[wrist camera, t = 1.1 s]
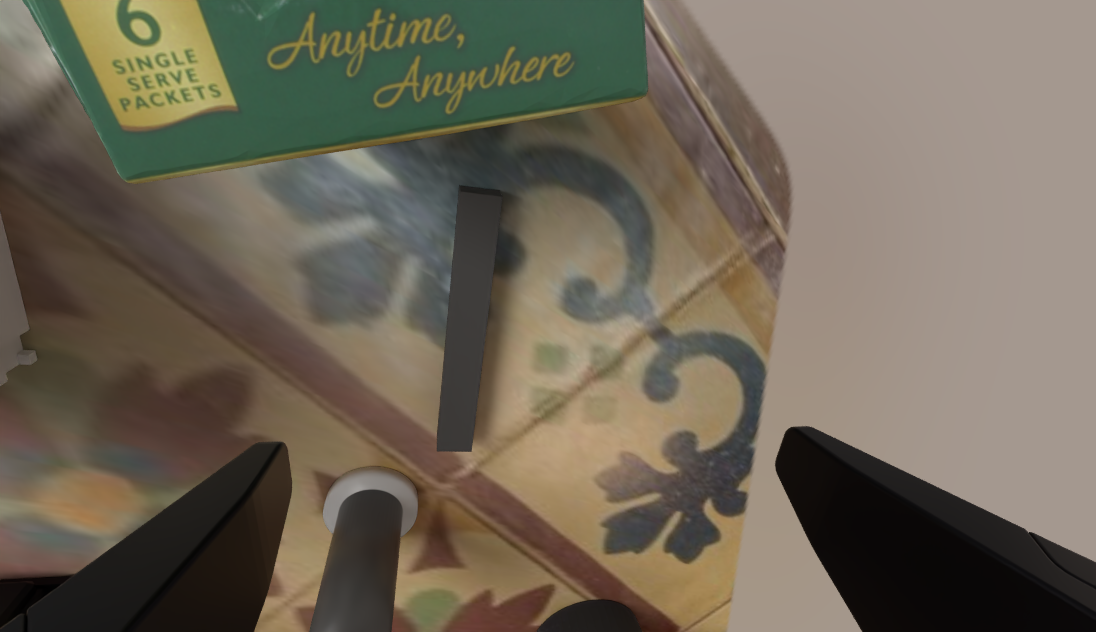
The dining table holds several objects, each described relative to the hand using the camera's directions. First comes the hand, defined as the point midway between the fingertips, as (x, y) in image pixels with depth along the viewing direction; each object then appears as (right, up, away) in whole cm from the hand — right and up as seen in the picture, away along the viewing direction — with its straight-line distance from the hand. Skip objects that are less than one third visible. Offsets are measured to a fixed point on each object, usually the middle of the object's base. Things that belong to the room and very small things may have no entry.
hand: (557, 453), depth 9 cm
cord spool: (-9, -7, +17) cm, 20 cm away
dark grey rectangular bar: (-4, +2, +14) cm, 15 cm away
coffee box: (-5, +12, +9) cm, 16 cm away
